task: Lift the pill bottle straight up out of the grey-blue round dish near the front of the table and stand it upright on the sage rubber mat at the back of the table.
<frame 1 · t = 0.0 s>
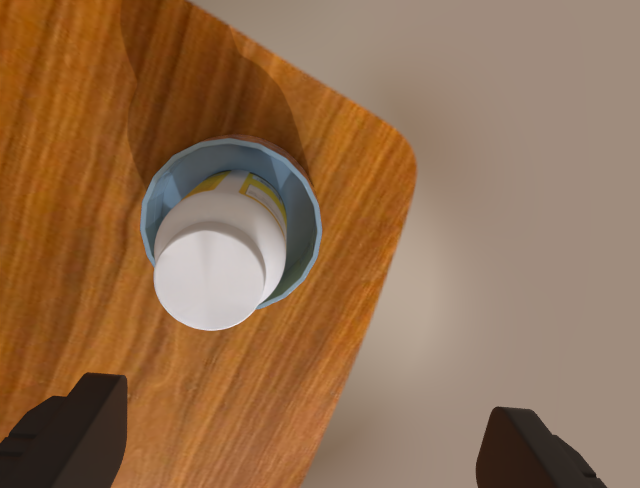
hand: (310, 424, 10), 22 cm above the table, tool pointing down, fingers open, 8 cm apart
pill bottle: (239, 215, 30), resting on grey-blue round dish
grey-blue round dish: (239, 214, 30), on the table
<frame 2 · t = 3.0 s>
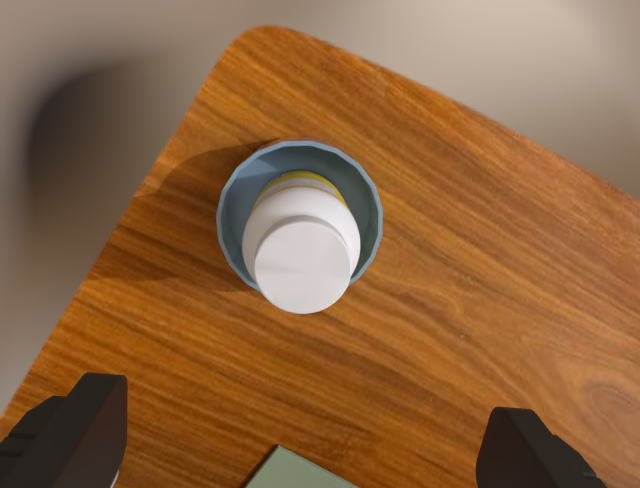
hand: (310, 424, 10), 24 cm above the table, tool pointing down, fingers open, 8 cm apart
pill bottle: (299, 211, 32), resting on grey-blue round dish
grey-blue round dish: (299, 211, 33), on the table
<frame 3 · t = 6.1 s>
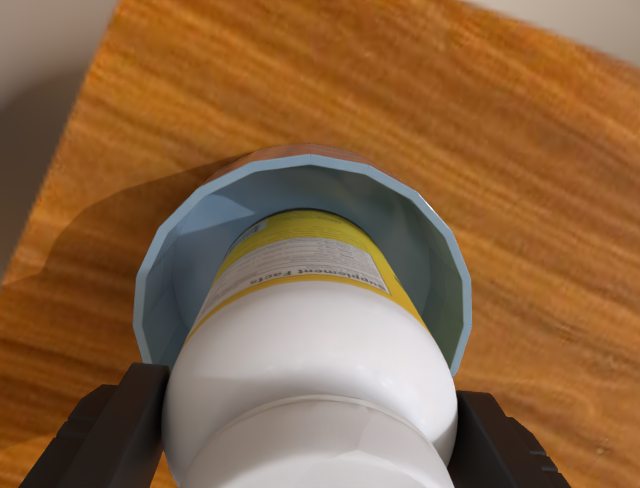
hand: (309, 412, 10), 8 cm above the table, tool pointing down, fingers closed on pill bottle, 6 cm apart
pill bottle: (303, 280, 18), resting on grey-blue round dish, touching gripper
grey-blue round dish: (303, 278, 18), on the table
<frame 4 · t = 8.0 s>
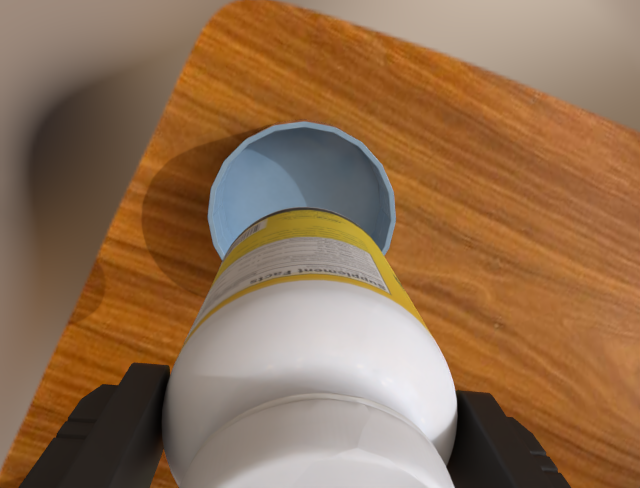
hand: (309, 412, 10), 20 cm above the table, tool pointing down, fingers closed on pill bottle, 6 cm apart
pill bottle: (303, 280, 18), point 12 cm above the table, touching gripper
grey-blue round dish: (301, 203, 29), on the table
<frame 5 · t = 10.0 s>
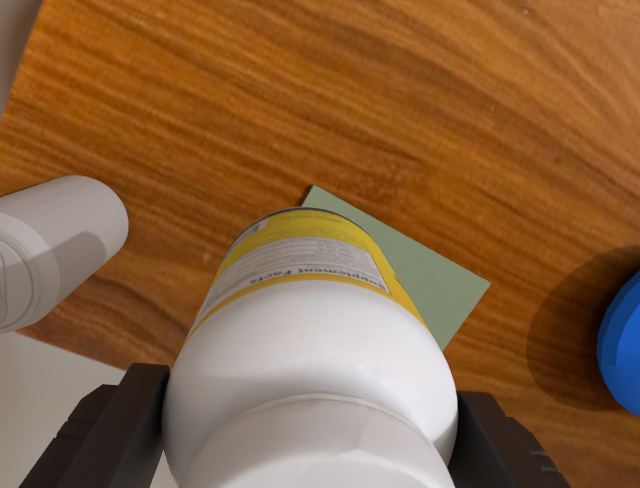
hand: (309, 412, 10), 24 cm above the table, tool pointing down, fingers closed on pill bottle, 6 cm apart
pill bottle: (303, 280, 18), point 16 cm above the table, touching gripper
mat: (364, 299, 35), on the table
beverage can: (88, 217, 32), on the table
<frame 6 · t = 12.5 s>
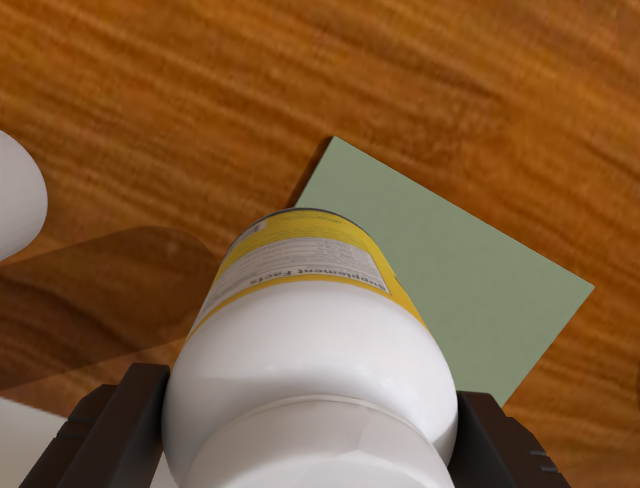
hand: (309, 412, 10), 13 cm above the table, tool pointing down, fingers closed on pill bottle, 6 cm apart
pill bottle: (303, 280, 18), point 5 cm above the table, touching gripper
mat: (407, 310, 24), on the table
when the fingers open (8 cm above the table, at t = 14.3 s): pill bottle stays where it is, resting on mat.
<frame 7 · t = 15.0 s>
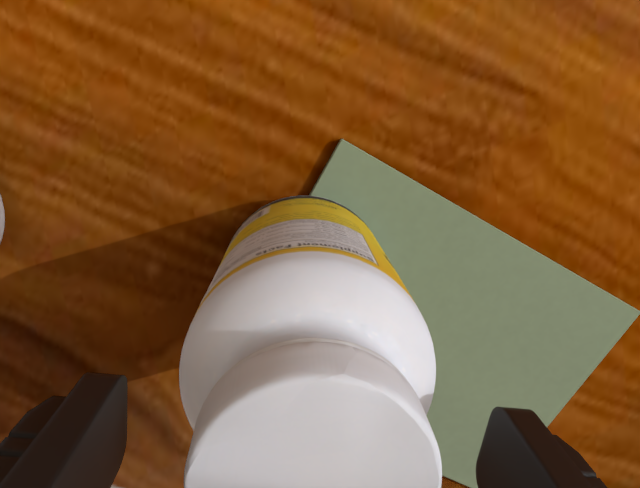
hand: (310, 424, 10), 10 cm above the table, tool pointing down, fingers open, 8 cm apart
pill bottle: (303, 264, 19), resting on mat
mat: (424, 339, 21), on the table
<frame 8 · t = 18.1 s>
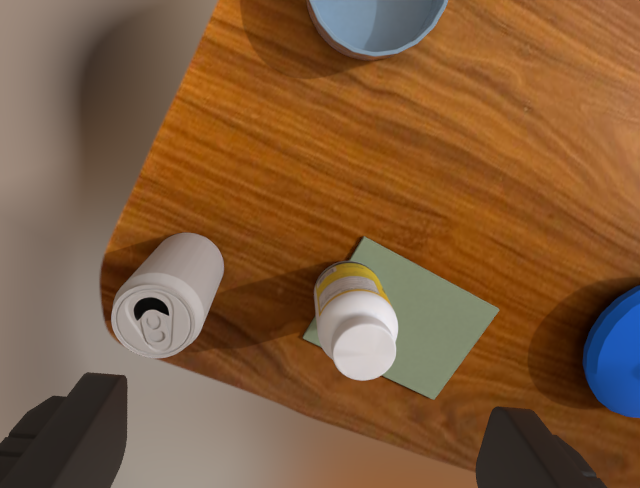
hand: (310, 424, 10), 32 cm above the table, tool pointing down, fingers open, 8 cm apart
pill bottle: (346, 288, 44), resting on mat
mat: (400, 322, 45), on the table
beverage can: (191, 262, 42), on the table
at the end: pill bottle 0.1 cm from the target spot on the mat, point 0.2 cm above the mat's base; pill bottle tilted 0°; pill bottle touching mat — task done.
